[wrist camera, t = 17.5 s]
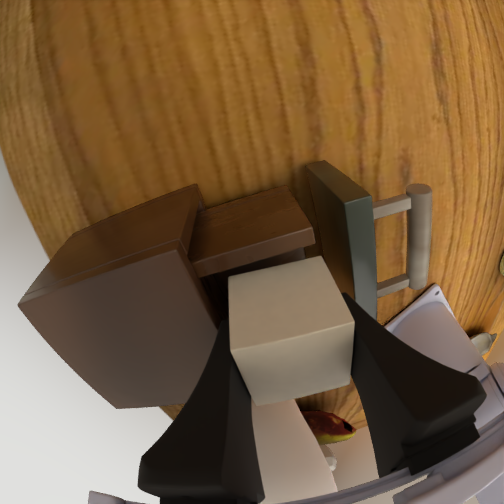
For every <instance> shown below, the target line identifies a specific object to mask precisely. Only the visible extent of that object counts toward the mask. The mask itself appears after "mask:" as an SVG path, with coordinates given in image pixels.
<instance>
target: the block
mask: <svg viewBox="0 0 504 504" xmlns="http://www.w3.org/2000/svg"><path fill="white" fill-rule="evenodd" d="M228 296H229V330H230V351H231V353H232V356H233V358H234V360H235V362H236V365H237V367H238V369H239V371H240V373H241V376H242V378H243V380H244V382H245V384H246V386H247V388H248V391H249V393H250V395H251V397H252V399H253V401H254V403H255V405H256V406H259V405H265V404H270V403H276V402H281V401H286V400H290V399H295V398H300V397H304V396H308V395H312V394H316V393H320V392H324V391H328V390H332V389H335V388H339V387H342V386H346V385H349V384H350V376H351V366H352V354H353V341H354V325H355V321H354V319H353V317H352V315H351V313H350V311H349V309H348V307H347V305H346V303H345V301H344V299H343V297H342V295H341V293H340V291H339V289H338V287H337V285H336V283H335V281H334V279H333V277H332V275H331V273H330V271H329V269H328V268H327V266H326V264H325V262H324V260H323V258H322V256H317V257H313V258H308V259H304V260H300V261H296V262H291V263H287V264H283V265H278V266H274V267H269V268H265V269H261V270H256V271H252V272H247V273H243V274H238V275H234V276H229V277H228Z"/></svg>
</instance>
